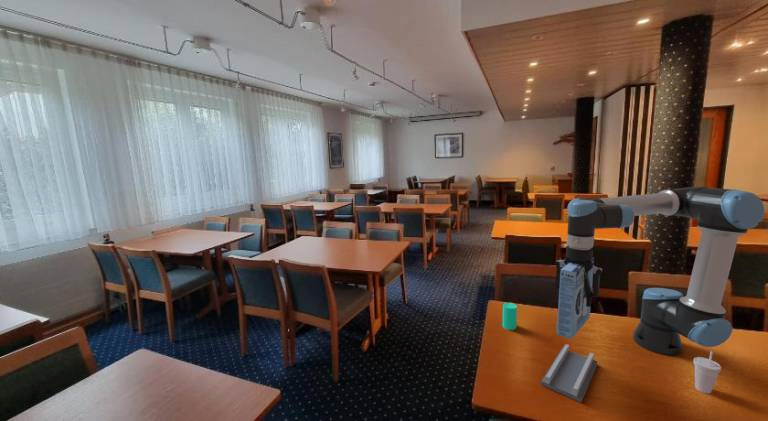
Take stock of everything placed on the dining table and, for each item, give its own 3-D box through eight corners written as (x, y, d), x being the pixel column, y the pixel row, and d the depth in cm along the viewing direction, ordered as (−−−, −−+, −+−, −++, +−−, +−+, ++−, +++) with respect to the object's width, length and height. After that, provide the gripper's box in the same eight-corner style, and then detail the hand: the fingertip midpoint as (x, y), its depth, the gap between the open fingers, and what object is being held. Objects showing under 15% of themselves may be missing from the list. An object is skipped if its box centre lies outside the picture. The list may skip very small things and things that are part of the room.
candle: (517, 330, 141) (518, 305, 139) (503, 329, 142) (504, 305, 140) (514, 323, 147) (515, 299, 145) (501, 322, 148) (502, 299, 146)
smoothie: (720, 399, 99) (727, 359, 97) (692, 392, 103) (698, 353, 100) (713, 386, 105) (719, 348, 102) (687, 379, 108) (692, 343, 105)
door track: (597, 364, 117) (598, 355, 116) (581, 402, 100) (582, 391, 100) (561, 351, 125) (562, 342, 125) (541, 384, 108) (541, 374, 108)
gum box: (571, 340, 101) (577, 273, 97) (554, 333, 105) (559, 269, 101) (590, 317, 114) (595, 257, 110) (574, 312, 118) (579, 254, 113)
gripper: (546, 244, 108) (542, 307, 112) (610, 255, 95) (604, 325, 100) (553, 239, 113) (549, 299, 117) (615, 249, 101) (608, 315, 105)
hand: (574, 311), depth 108 cm, fingers closed on gum box, 5 cm apart
